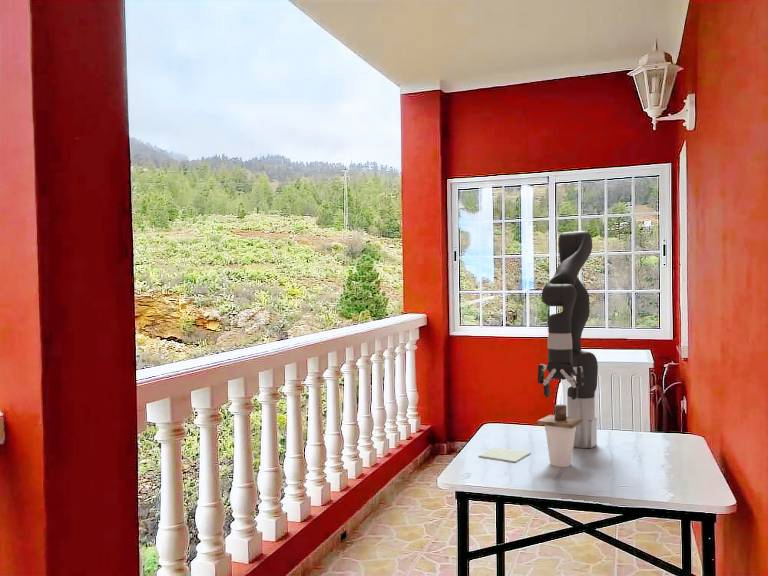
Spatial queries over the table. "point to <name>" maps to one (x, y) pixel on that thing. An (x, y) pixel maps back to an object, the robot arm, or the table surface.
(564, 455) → the foam cup
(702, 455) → the table surface
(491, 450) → the mat
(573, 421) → the lid
